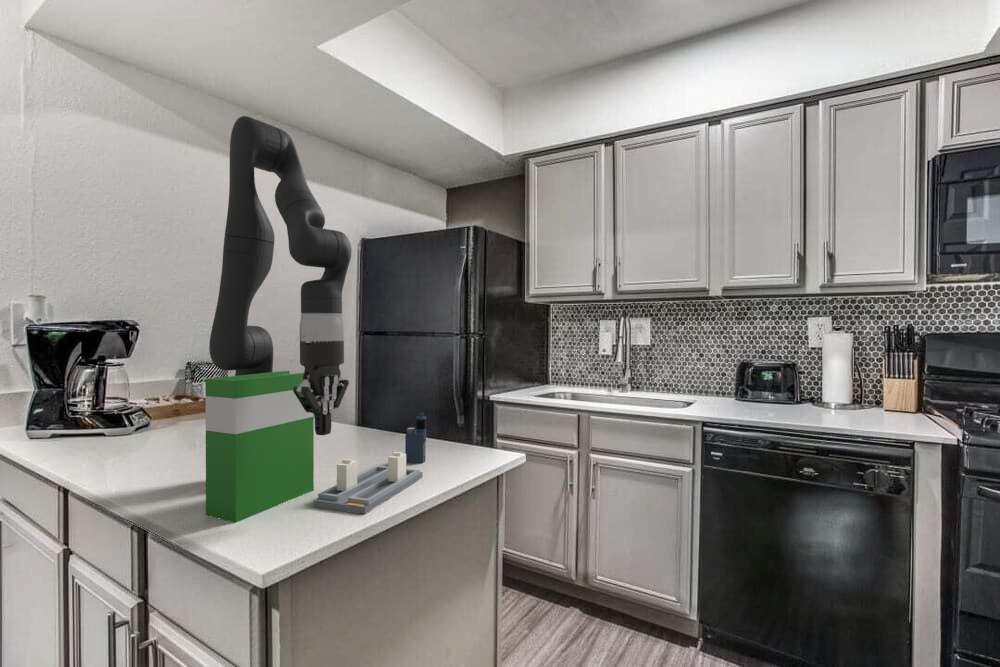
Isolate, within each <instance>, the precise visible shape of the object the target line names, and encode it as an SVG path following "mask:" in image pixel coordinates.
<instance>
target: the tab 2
mask: <svg viewBox="0 0 1000 667" xmlns="http://www.w3.org/2000/svg"><path fill="white" fill-rule="evenodd" d="M387 459H388V460H387V462H388V463H387V467H388V481H390V482H397V481H398V480H400V479H402V478H403V477H405V476H406V469H407V462H406V454H405V452H404V453H403V452H400V451H393V452H392V455H390V456H388V458H387Z"/></svg>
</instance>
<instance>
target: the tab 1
mask: <svg viewBox="0 0 1000 667" xmlns="http://www.w3.org/2000/svg"><path fill="white" fill-rule="evenodd" d="M357 475H358V460H353V459H349V458H343V459H342V462H340V463H337V464H336V485H337V490H339V491H345V490H347V489H349V488H351V487H353V486H355V485H357Z"/></svg>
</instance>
